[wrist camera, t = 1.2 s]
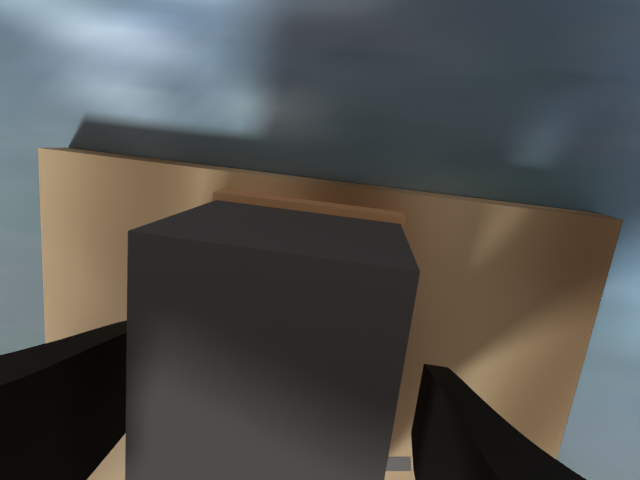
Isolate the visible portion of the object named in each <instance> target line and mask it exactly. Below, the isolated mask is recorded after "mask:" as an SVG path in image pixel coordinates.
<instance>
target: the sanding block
mask: <svg viewBox="0 0 640 480" xmlns="http://www.w3.org/2000/svg"><path fill="white" fill-rule="evenodd" d="M405 219H406V216H405V214H404V212H400V211H392V210H384V209H376V208H368V207H361V206H353V205H345V204H337V203H329V202H321V201H313V200H306V199H298V198H290V197H282V196H274V195H266V194H258V193H251V192H243V191H235V190H227V189H221V190H218V191H214V192H213V198H212V202H209V203H206V204H203V205H200V206H198V207H195V208H192V209H189V210H186V211H183V212H180V213H178V214H175V215H172V216H169V217H166V218H163V219H160V220H157V221H155V222H152V223H149V224H146V225H143V226H140V227H137V228H135V229H132V230H129V231H128V256H127V349H126V442H125V480H384V478H385V472H386V466H387V460H388V455H389V449H390V443H391V437H392V432H393V426H394V420H395V414H396V408H397V403H398V397H399V391H400V385H401V379H402V374H403V368H404V362H405V356H406V351H407V345H408V339H409V333H410V327H411V322H412V316H413V310H414V304H415V299H416V293H417V287H418V281H419V275H420V270H419V267H418V265H417V262H416V260H415V258H414V255H413V253H412V250H411V248H410V245H409V243H408V241H407V238H406V236H405V233H404V225H405Z"/></svg>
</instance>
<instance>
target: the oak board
mask: <svg viewBox="0 0 640 480" xmlns="http://www.w3.org/2000/svg"><path fill="white" fill-rule="evenodd" d="M38 158H39V185H40V212H41V239H42V266H43V293H44V320H45V343H49V342H53V341H56V340H60V339H63V338H67V337H70V336H73V335H77V334H80V333H83V332H86V331H90V330H93V329H96V328H100V327H103V326H107V325H110V324H114V323H117V322H122V321H126V320H127V256H128V231H129V230H132V229H135V228H137V227H140V226H143V225H146V224H149V223H152V222H155V221H157V220H160V219H163V218H166V217H169V216H172V215H175V214H178V213H180V212H183V211H186V210H189V209H192V208H195V207H198V206H200V205H203V204H206V203H209V202H212V198H213V192H214V191H218V190H221V189H227V190H235V191H243V192H251V193H258V194H266V195H274V196H282V197H290V198H298V199H306V200H313V201H321V202H329V203H337V204H345V205H353V206H361V207H368V208H376V209H384V210H392V211H400V212H404V214H405V216H406V219H405V225H404V233H405V236H406V238H407V241H408V243H409V245H410V248H411V250H412V253H413V255H414V258H415V260H416V262H417V265H418V267H419V270H420V275H419V281H418V287H417V293H416V299H415V304H414V310H413V316H412V322H411V327H410V333H409V339H408V345H407V351H406V356H405V362H404V368H403V374H402V379H401V385H400V391H399V397H398V403H397V408H396V414H395V420H394V426H393V432H392V437H391V443H390V449H389V455H388V460H387V466H386V472H385V478H384V480H415V476H414V470H413V457H412V440H411V430H412V425H413V420H414V414H415V409H416V403H417V398H418V393H419V387H420V382H421V376H422V371H423V365H424V364H430V365H436V366H443V367H448V368H449V369H451V370H452V371H453V372H454V373H455V374H456V375H457V376H459V377H460V378H461V379H462V380H463V381H464V382H465V383H466V384H467V385H468V386H469V387H470V388H471V389H472V390H473V391H474V392H475V393H476V394H477V395H478V396H479V397H481V398H482V399H483V400H484V401H485V402H486V403H487V404H488V405H489V406H490V407H491V408H492V409H493V410H495V411H496V412H497V413H498V414H499V415H500V416H501V417H502V418H504V419H505V420H506V421H507V422H508V423H509V424H511V425H512V426H513V427H514V428H515V429H517V430H518V431H519V432H520V433H522V434H523V435H524V436H525V437H526V438H528V439H529V440H530V441H531V442H533V443H534V444H535V445H537V446H538V447H539V448H541V449H542V450H543V451H545V452H546V453H548V454H549V455H551V456H552V457H553V458H555V459H557V456H558V452H559V448H560V445H561V441H562V438H563V434H564V430H565V427H566V423H567V420H568V416H569V412H570V409H571V405H572V402H573V398H574V395H575V391H576V387H577V384H578V380H579V377H580V373H581V369H582V366H583V362H584V359H585V355H586V351H587V348H588V344H589V341H590V337H591V333H592V330H593V326H594V323H595V319H596V315H597V312H598V308H599V305H600V301H601V297H602V294H603V290H604V287H605V283H606V279H607V276H608V272H609V269H610V265H611V261H612V258H613V254H614V251H615V247H616V243H617V240H618V236H619V233H620V229H621V225H622V222H623V220H620V219H617V218H613V217H610V216H607V215H603V214H600V213H593V212H585V211H577V210H569V209H561V208H553V207H545V206H537V205H528V204H520V203H512V202H504V201H496V200H488V199H480V198H471V197H463V196H455V195H447V194H439V193H431V192H423V191H414V190H406V189H398V188H390V187H382V186H374V185H366V184H358V183H349V182H341V181H333V180H325V179H317V178H309V177H301V176H292V175H284V174H276V173H268V172H260V171H252V170H244V169H235V168H227V167H219V166H211V165H203V164H195V163H187V162H179V161H170V160H162V159H154V158H146V157H138V156H130V155H122V154H113V153H105V152H97V151H89V150H81V149H73V148H38ZM125 442H126V433H125V434H124V436H123V437H122V438H121V439H120V440H119V442H118V443H117V444H116V445H115V447H114V448H113V449H112V450H111V451H110V453H109V454H108V455H107V456H106V457H105V459H104V460H103V461H102V462H101V463H100V465H99V466H98V467H97V468H96V469H95V471H94V472H93V473H92V474H91V475H90V477H89V478H88V479H87V480H125Z"/></svg>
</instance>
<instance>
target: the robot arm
mask: <svg viewBox="0 0 640 480" xmlns="http://www.w3.org/2000/svg"><path fill="white" fill-rule="evenodd" d="M126 349H127V320H126V321H122V322H117V323H114V324H110V325H107V326H103V327H100V328H96V329H93V330H90V331H86V332H83V333H80V334H77V335H73V336H70V337H67V338H63V339H60V340H56V341H53V342H49V343H45V344H42V345H38V346H34V347H31V348H27V349H23V350H20V351H16V352H12V353H8V354H4V355H0V480H87V479H88V478H89V477H90V475H91V474H92V473H93V472H94V471H95V469H96V468H97V467H98V466H99V465H100V463H101V462H102V461H103V460H104V459H105V457H106V456H107V455H108V454H109V453H110V451H111V450H112V449H113V448H114V447H115V445H116V444H117V443H118V442H119V440H120V439H121V438H122V437H123V436H124V434H125V433H126ZM411 440H412V457H413V470H414V476H415V480H586V479H584V478H583V477H581V476H580V475H578V474H577V473H575V472H574V471H572V470H571V469H569V468H568V467H566V466H565V465H563V464H562V463H560V462H559V461H558V460H556V459H555V458H553V457H552V456H551V455H549V454H548V453H546V452H545V451H543V450H542V449H541V448H539V447H538V446H537V445H535V444H534V443H533V442H531V441H530V440H529V439H528V438H526V437H525V436H524V435H523V434H522V433H520V432H519V431H518V430H517V429H515V428H514V427H513V426H512V425H511V424H509V423H508V422H507V421H506V420H505V419H504V418H502V417H501V416H500V415H499V414H498V413H497V412H496V411H495V410H493V409H492V408H491V407H490V406H489V405H488V404H487V403H486V402H485V401H484V400H483V399H482V398H481V397H479V396H478V395H477V394H476V393H475V392H474V391H473V390H472V389H471V388H470V387H469V386H468V385H467V384H466V383H465V382H464V381H463V380H462V379H461V378H460V377H459V376H457V375H456V374H455V373H454V372H453V371H452V370H451V369H449V368H448V367H443V366H436V365H430V364H424V365H423V371H422V376H421V382H420V387H419V393H418V398H417V403H416V409H415V414H414V420H413V425H412V430H411Z"/></svg>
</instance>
